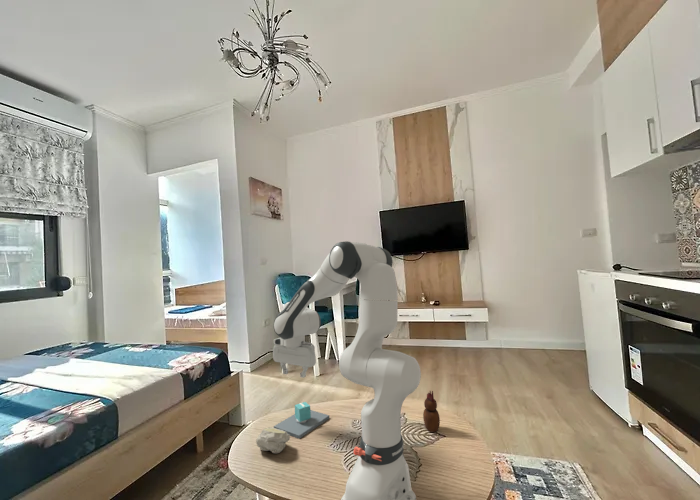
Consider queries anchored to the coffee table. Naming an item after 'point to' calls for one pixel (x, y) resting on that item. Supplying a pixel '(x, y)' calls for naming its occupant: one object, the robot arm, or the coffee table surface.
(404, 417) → the coffee table surface
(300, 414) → the teal slotted cube
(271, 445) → the fossil replica
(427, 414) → the wooden figurine
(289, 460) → the coffee table surface
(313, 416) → the toggle switch board
